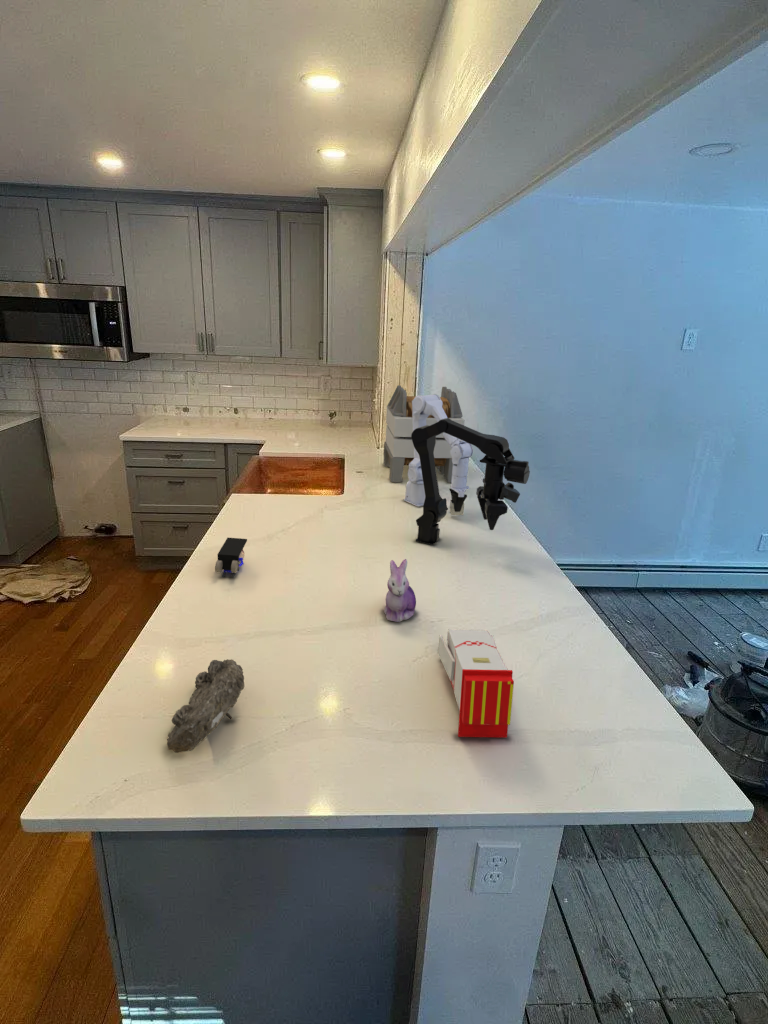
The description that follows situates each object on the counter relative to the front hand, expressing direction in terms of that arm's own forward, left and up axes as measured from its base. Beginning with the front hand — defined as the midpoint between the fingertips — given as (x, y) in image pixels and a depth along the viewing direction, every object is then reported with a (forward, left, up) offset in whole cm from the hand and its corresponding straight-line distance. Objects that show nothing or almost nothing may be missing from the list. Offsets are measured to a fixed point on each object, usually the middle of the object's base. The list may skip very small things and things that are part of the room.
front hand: (488, 524), depth 182 cm
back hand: (-19, +29, -7) cm, 35 cm away
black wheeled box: (-64, -48, -11) cm, 81 cm away
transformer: (-53, +80, -11) cm, 97 cm away
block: (-19, +29, -9) cm, 35 cm away
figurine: (-10, -49, -11) cm, 51 cm away
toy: (+15, -71, -11) cm, 73 cm away
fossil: (-27, -101, -11) cm, 105 cm away
